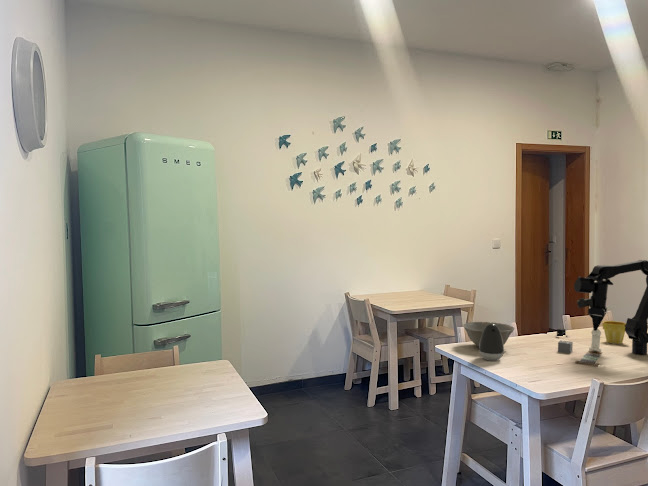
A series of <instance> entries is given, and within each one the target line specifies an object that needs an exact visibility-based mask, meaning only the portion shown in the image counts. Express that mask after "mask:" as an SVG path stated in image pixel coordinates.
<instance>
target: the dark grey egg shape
mask: <svg viewBox="0 0 648 486" xmlns="http://www.w3.org/2000/svg"><path fill="white" fill-rule="evenodd" d="M504 345H505V344H504ZM504 345H503V340H502V336H501V333H500V330H499V328H498V327H497V326H496V325H495V324H488V325H486V327H485V328H484V330H483V332H482V335H481V338H480V343H479V347H478V351H479V355H480V356H481V358H483V360H486V361H491V362H492V361H493V362H495V361H499V360H500V359H501V358H502V357H503V354H504V352H505V347H504Z"/></svg>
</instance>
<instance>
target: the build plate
mask: <svg viewBox="0 0 648 486" xmlns="http://www.w3.org/2000/svg"><path fill="white" fill-rule="evenodd" d="M566 334H567V332H566V328H561V327H560V328H557V329H556V336H563V335H566ZM566 336H567V335H566Z"/></svg>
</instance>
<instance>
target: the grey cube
mask: <svg viewBox="0 0 648 486" xmlns="http://www.w3.org/2000/svg"><path fill="white" fill-rule="evenodd" d="M557 352H558V353H564V354H565V353H566V354H571V353H572V352H573V341H569V340H568V341H567V340H563V339H560V340H559V341H557Z"/></svg>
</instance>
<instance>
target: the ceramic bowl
mask: <svg viewBox="0 0 648 486" xmlns="http://www.w3.org/2000/svg"><path fill="white" fill-rule="evenodd" d="M488 324H495V325H496V326H497V327H498V328H499V330H500V333H501V336H502V340H503V345H505V344H506V343H507V341H508V339H509V338H510V335H512V333H513V332H514V330H515V327H514V326H513V325H512V326H511V325H509V324H506V323H499V322H489V321H470V322H465V323H464V324H463V328H464V330H465V333H466V334H467V336H468V338H469V340H470V341H471V342H472V343H473V344H474V345H475V346H477V347H478V348H479V343H480V338H481V335H482V332H483V330H484V328H485V327H486V325H488Z"/></svg>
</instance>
